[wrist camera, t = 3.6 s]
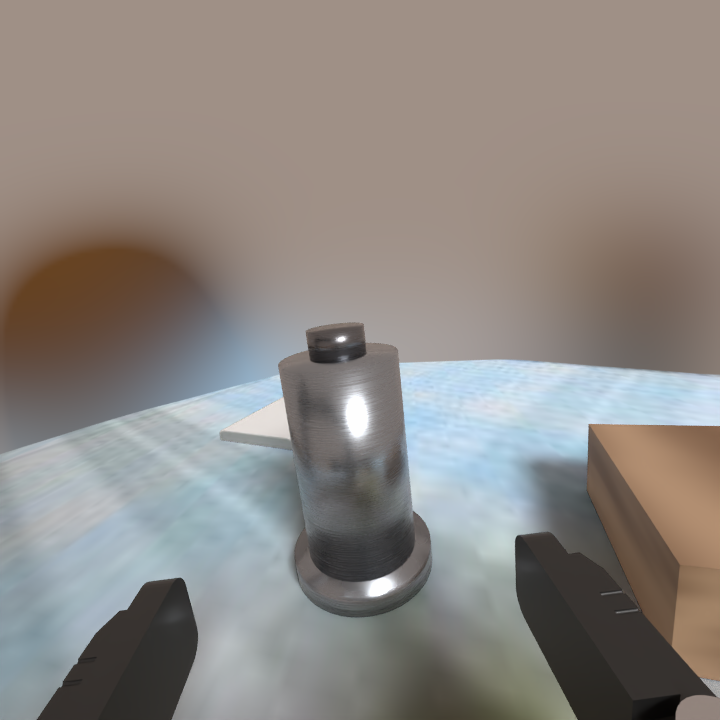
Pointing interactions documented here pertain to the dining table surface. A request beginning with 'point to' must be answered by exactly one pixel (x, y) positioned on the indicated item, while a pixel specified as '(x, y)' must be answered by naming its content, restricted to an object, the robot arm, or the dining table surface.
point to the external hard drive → (262, 428)
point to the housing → (353, 475)
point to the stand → (665, 527)
